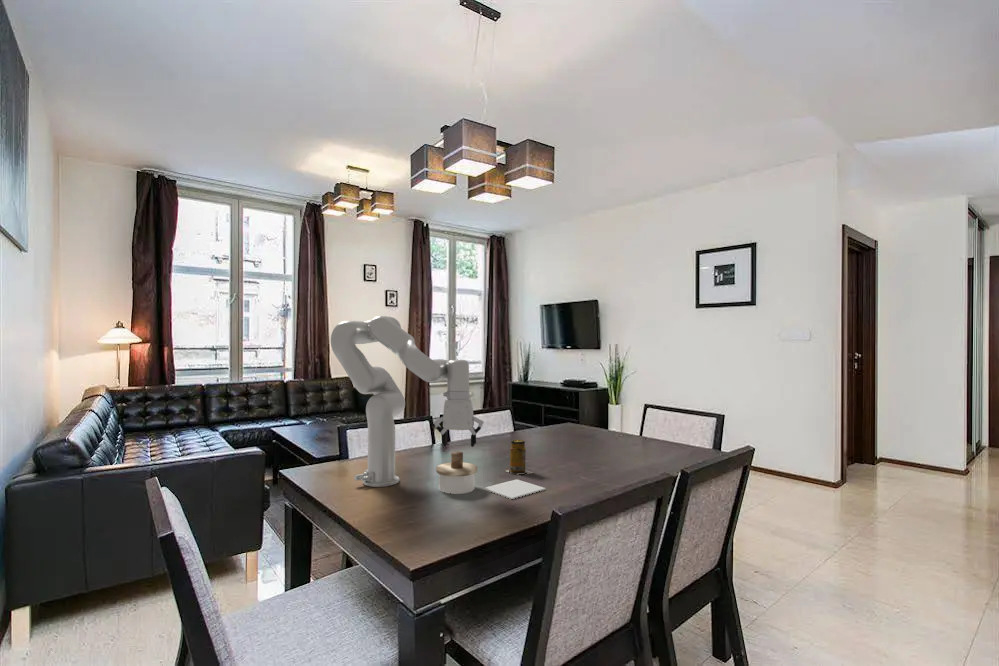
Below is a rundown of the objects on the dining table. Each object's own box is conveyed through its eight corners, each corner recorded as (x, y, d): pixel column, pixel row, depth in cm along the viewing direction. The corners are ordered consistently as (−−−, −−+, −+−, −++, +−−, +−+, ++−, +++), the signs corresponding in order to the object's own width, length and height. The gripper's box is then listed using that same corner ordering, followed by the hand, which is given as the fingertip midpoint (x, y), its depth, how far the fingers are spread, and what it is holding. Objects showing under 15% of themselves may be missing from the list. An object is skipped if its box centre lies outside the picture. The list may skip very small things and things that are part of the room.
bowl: (453, 496, 163) (453, 477, 163) (432, 487, 172) (432, 470, 172) (481, 488, 171) (481, 471, 172) (459, 481, 180) (459, 464, 180)
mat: (511, 499, 160) (511, 497, 160) (483, 489, 171) (483, 487, 171) (545, 489, 171) (545, 488, 171) (516, 480, 182) (516, 479, 182)
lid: (453, 478, 162) (453, 459, 162) (428, 470, 172) (428, 452, 172) (485, 471, 171) (485, 453, 172) (460, 463, 182) (460, 446, 182)
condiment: (518, 468, 199) (518, 438, 199) (533, 473, 193) (533, 441, 193) (504, 471, 195) (504, 440, 195) (518, 476, 188) (519, 444, 188)
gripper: (430, 397, 169) (431, 447, 169) (481, 397, 167) (482, 448, 167) (436, 394, 177) (437, 443, 177) (484, 394, 175) (485, 443, 174)
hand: (459, 445), depth 172 cm, fingers open, 9 cm apart
